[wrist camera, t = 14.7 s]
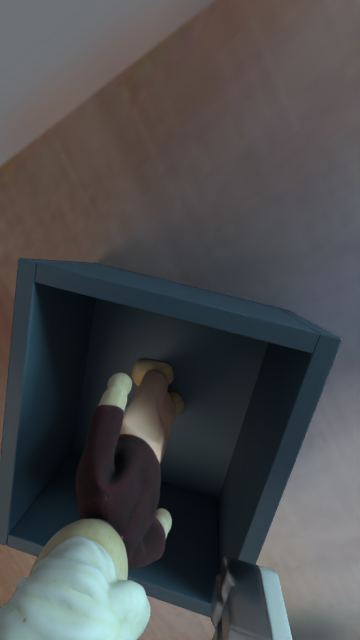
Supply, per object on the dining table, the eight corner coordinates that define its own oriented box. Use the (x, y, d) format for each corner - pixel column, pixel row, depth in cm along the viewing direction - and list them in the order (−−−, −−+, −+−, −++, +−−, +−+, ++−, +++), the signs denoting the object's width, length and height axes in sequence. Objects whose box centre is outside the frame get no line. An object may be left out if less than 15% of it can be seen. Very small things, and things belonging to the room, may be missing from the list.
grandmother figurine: (109, 357, 17) (-171, 591, 5) (159, 334, 16) (-15, 538, 4) (161, 454, 18) (43, 866, 6) (211, 436, 17) (205, 868, 5)
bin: (64, 453, 20) (-8, 541, 13) (94, 262, 17) (17, 257, 10) (226, 503, 19) (232, 626, 12) (289, 310, 15) (343, 338, 9)
